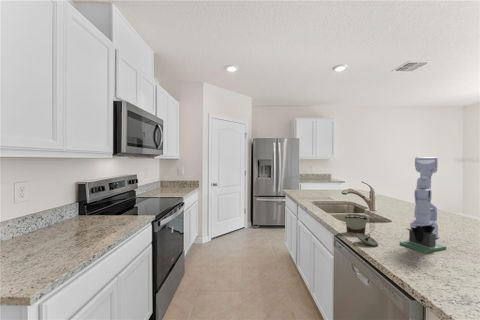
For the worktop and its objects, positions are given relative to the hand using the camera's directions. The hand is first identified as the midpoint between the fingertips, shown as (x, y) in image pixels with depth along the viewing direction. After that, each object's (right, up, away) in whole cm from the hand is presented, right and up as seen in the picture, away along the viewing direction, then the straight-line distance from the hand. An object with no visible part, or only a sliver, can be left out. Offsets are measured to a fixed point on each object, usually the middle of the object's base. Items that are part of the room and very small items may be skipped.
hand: (422, 241), depth 120 cm
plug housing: (-1, -1, +1) cm, 2 cm away
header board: (0, -3, 0) cm, 3 cm away
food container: (-22, -3, +24) cm, 33 cm away
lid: (-25, -3, +4) cm, 26 cm away
